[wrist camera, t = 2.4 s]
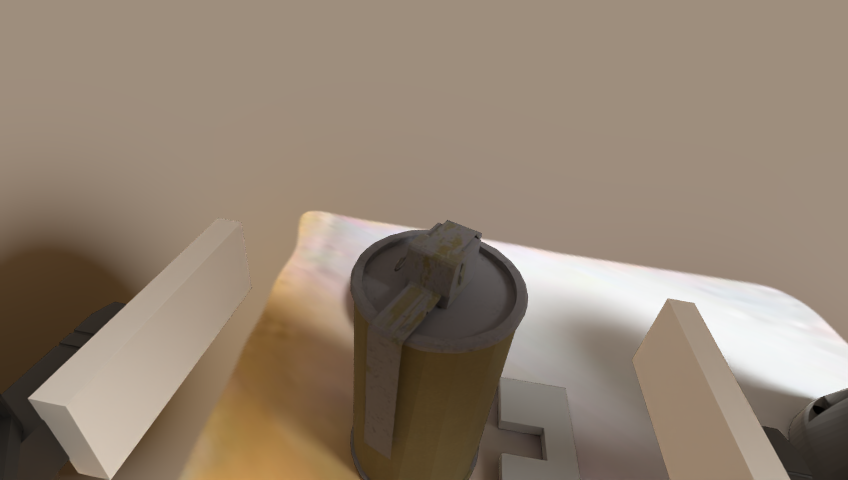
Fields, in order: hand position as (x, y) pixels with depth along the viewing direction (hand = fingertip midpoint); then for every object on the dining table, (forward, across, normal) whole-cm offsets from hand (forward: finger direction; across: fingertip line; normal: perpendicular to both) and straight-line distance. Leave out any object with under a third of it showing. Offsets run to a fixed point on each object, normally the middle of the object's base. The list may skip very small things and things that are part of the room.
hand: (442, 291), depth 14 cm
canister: (+9, 0, +25) cm, 26 cm away
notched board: (+11, -10, +24) cm, 28 cm away
